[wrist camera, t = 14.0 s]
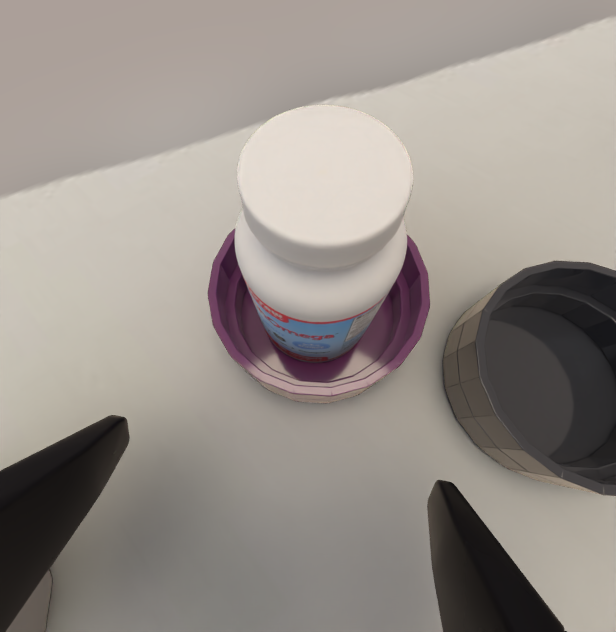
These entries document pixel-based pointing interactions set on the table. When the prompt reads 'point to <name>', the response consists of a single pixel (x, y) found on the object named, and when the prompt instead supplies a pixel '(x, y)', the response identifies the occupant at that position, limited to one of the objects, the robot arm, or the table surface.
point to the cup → (34, 609)
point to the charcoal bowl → (541, 374)
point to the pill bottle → (321, 226)
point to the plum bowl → (327, 377)
